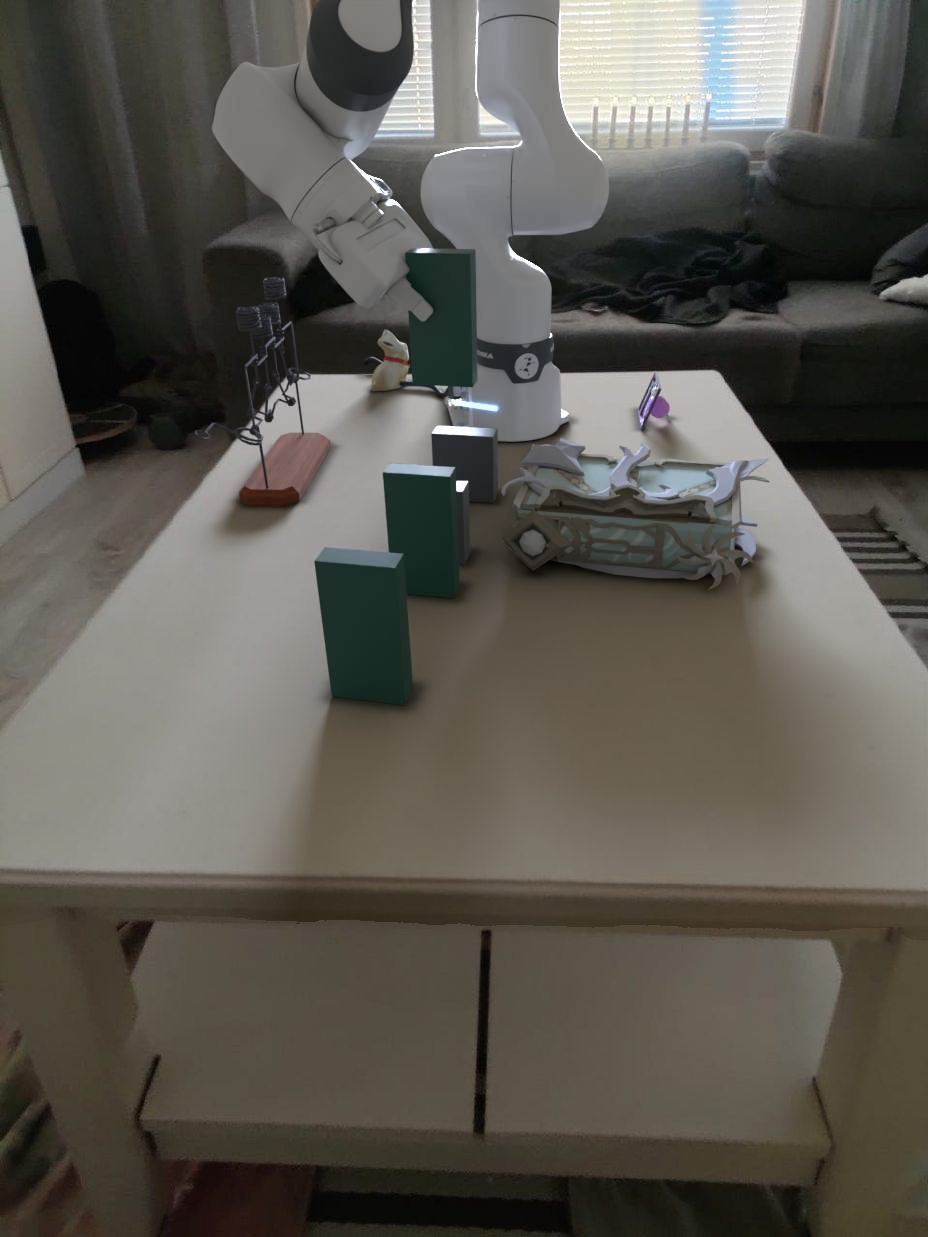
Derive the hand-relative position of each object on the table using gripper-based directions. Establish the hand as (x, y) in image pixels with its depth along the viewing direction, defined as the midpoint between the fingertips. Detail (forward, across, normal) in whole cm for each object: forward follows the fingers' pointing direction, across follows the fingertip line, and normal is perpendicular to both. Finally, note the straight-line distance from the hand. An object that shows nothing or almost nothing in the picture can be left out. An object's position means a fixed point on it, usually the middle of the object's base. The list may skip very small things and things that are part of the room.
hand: (434, 311), depth 96 cm
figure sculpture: (0, +10, +37) cm, 38 cm away
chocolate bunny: (+2, +54, +35) cm, 64 cm away
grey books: (+19, 0, +18) cm, 26 cm away
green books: (+20, -26, +17) cm, 36 cm away
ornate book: (+35, 0, +2) cm, 35 cm away
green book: (+6, 0, +5) cm, 8 cm away
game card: (+35, +43, +2) cm, 55 cm away
